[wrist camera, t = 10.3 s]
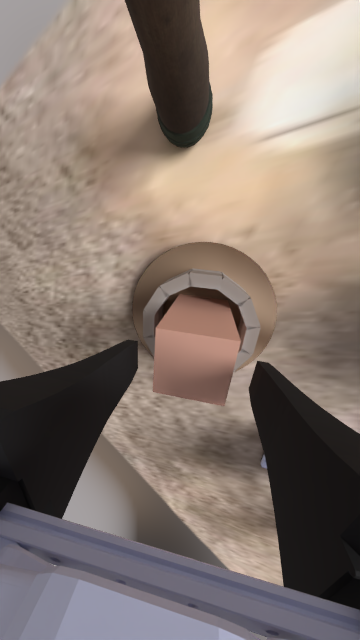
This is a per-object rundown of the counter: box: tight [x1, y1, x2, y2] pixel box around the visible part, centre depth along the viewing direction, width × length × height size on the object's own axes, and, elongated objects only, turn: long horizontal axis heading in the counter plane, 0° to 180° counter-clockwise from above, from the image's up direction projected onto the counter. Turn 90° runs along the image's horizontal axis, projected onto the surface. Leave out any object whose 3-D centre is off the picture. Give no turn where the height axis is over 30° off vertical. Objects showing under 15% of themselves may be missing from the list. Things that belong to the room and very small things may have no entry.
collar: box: [132, 242, 277, 372], centre depth 17 cm, size 14×14×4 cm
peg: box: [153, 294, 241, 406], centre depth 14 cm, size 4×4×8 cm
